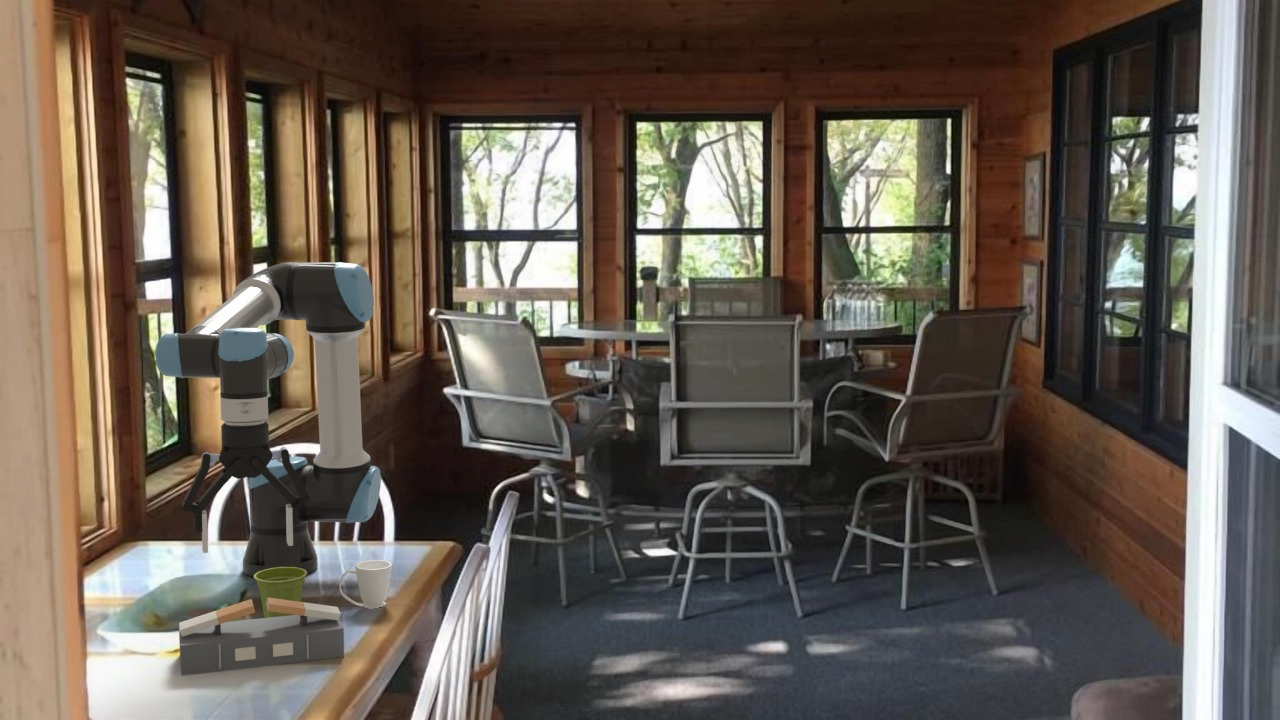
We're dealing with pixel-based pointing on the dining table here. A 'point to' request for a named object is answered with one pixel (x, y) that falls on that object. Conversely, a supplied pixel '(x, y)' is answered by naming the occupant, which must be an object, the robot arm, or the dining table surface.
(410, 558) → the dining table surface
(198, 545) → the dining table surface
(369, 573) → the cup
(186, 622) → the rocker
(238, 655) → the switch unit
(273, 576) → the plant pot
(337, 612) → the rocker
